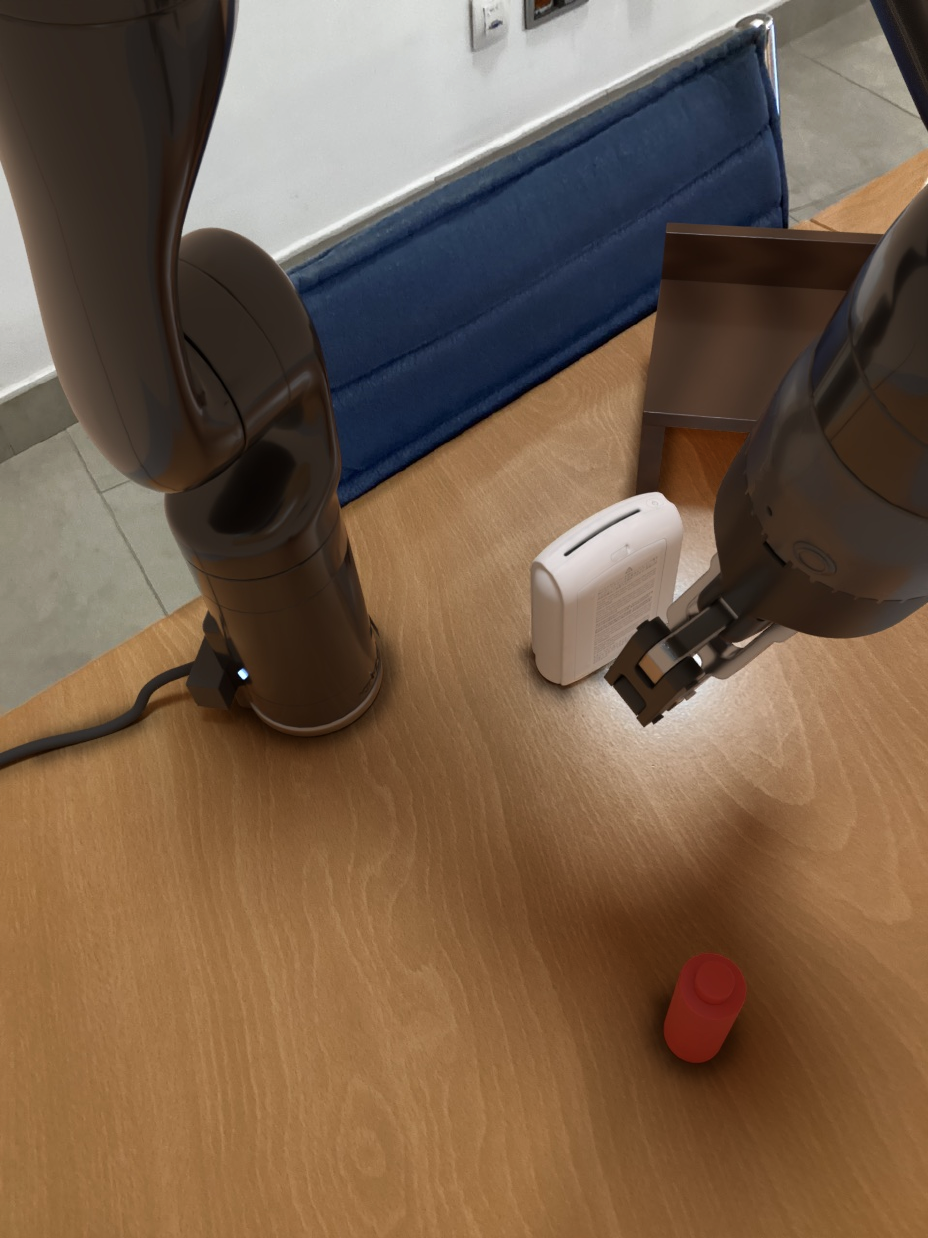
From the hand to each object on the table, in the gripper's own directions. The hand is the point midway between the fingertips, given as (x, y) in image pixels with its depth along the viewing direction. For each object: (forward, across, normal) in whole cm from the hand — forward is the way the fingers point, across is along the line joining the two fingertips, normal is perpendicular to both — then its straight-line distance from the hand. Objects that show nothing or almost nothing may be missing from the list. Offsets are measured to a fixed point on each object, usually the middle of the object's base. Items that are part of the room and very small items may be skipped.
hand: (731, 632), depth 46 cm
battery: (+18, +9, +15) cm, 25 cm away
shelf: (+30, -23, -12) cm, 40 cm away
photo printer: (+26, -3, -7) cm, 27 cm away
